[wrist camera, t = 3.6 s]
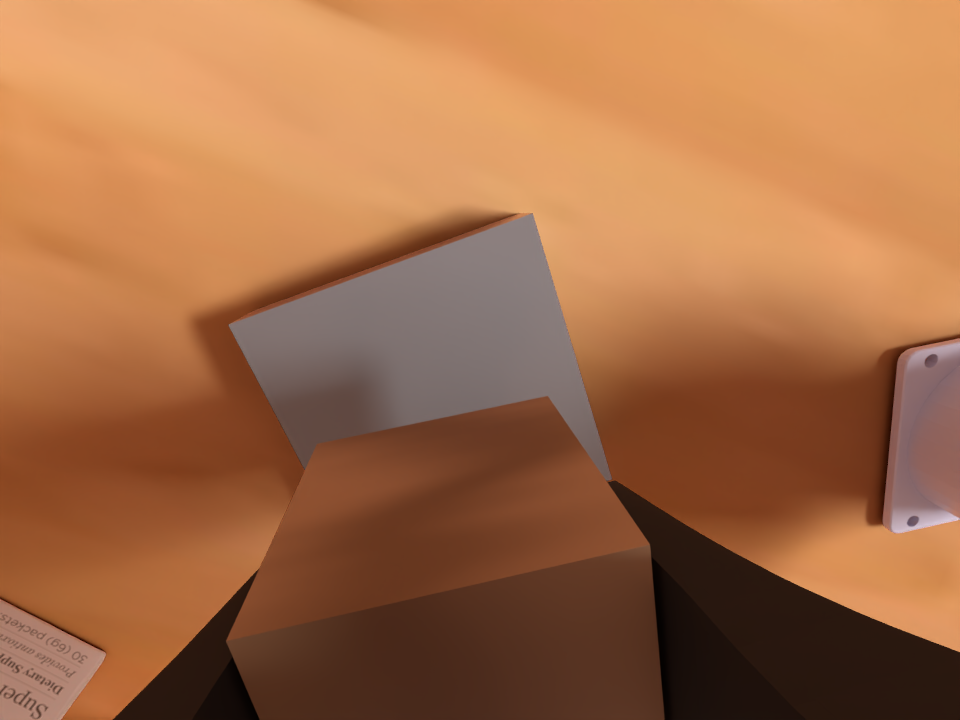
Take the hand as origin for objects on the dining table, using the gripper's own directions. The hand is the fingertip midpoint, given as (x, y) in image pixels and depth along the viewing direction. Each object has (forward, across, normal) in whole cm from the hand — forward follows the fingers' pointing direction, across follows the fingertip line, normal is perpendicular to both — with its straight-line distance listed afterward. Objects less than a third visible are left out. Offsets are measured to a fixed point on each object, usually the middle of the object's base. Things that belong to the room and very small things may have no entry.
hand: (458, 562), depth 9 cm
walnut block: (+2, 0, +1) cm, 2 cm away
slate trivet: (+9, 0, 0) cm, 9 cm away
